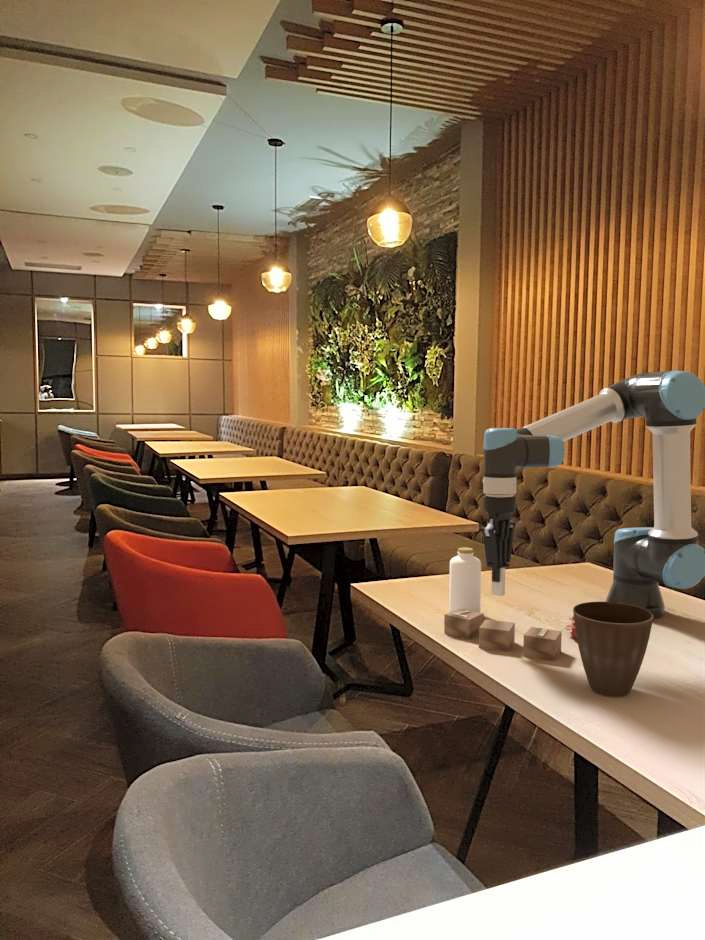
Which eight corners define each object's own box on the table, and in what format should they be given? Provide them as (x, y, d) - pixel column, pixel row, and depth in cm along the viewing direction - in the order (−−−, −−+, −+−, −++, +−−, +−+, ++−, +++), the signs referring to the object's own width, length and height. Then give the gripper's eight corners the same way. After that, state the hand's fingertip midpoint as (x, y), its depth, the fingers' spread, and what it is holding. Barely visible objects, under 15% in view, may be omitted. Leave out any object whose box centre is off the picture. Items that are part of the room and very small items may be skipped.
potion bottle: (442, 614, 198) (443, 549, 196) (460, 608, 204) (461, 544, 202) (468, 621, 192) (469, 553, 191) (486, 614, 199) (487, 548, 197)
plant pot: (658, 708, 138) (661, 624, 136) (575, 702, 141) (578, 620, 139) (641, 678, 153) (644, 603, 151) (567, 674, 155) (569, 599, 154)
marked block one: (561, 652, 169) (561, 630, 169) (554, 661, 163) (555, 639, 162) (530, 647, 172) (531, 626, 172) (523, 656, 166) (523, 634, 166)
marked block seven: (483, 632, 183) (483, 612, 183) (469, 639, 178) (469, 618, 177) (458, 627, 188) (459, 607, 187) (444, 634, 182) (444, 613, 182)
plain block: (514, 643, 176) (514, 622, 175) (508, 652, 169) (509, 631, 169) (485, 639, 178) (485, 619, 178) (478, 648, 172) (479, 627, 171)
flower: (613, 628, 180) (594, 600, 183) (614, 632, 172) (594, 602, 174) (578, 648, 182) (560, 619, 185) (577, 652, 174) (558, 622, 176)
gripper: (497, 490, 178) (496, 586, 180) (471, 496, 168) (470, 597, 170) (526, 493, 173) (525, 591, 175) (501, 499, 163) (499, 603, 165)
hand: (498, 594), depth 173 cm, fingers closed
